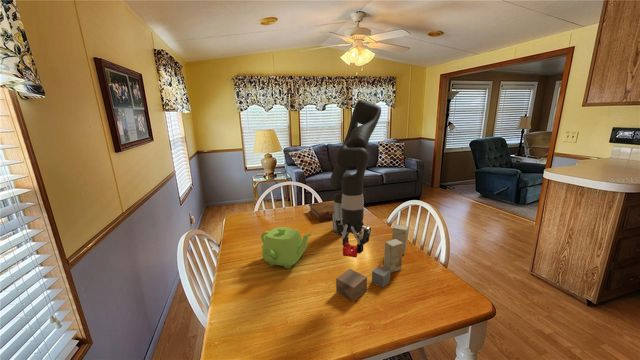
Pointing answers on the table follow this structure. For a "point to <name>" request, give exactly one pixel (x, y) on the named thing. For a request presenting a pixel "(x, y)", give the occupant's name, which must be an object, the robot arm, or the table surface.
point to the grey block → (381, 276)
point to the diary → (322, 210)
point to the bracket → (348, 249)
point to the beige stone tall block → (400, 235)
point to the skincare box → (393, 255)
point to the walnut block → (351, 285)
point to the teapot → (283, 246)
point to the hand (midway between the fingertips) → (352, 249)
